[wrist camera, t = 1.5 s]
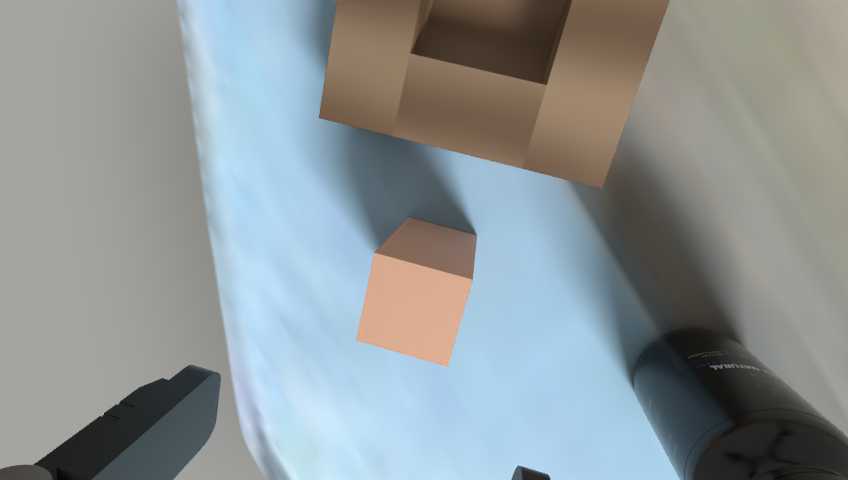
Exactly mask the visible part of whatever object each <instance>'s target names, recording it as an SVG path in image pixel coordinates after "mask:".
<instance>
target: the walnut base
mask: <svg viewBox="0 0 848 480" xmlns="http://www.w3.org/2000/svg"><path fill="white" fill-rule="evenodd" d="M669 1H670V0H337V4H336V11H335V17H334V23H333V30H332V36H331V43H330V49H329V56H328V62H327V69H326V75H325V82H324V88H323V95H322V101H321V108H320V114H319V118H322V119H326V120H330V121H334V122H338V123H342V124H346V125H350V126H354V127H358V128H362V129H366V130H370V131H374V132H378V133H382V134H386V135H390V136H394V137H398V138H402V139H406V140H410V141H414V142H418V143H422V144H426V145H430V146H434V147H438V148H442V149H446V150H450V151H454V152H458V153H462V154H466V155H470V156H474V157H478V158H482V159H486V160H490V161H494V162H498V163H502V164H506V165H510V166H514V167H518V168H522V169H526V170H530V171H534V172H538V173H542V174H546V175H550V176H554V177H558V178H562V179H566V180H570V181H574V182H578V183H582V184H586V185H590V186H594V187H598V188H602V187H603V184H604V182H605V179H606V176H607V173H608V170H609V168H610V165H611V162H612V159H613V157H614V154H615V151H616V148H617V145H618V143H619V140H620V137H621V134H622V131H623V129H624V126H625V123H626V120H627V118H628V115H629V112H630V109H631V106H632V104H633V101H634V98H635V95H636V92H637V90H638V87H639V84H640V81H641V79H642V76H643V73H644V70H645V67H646V65H647V62H648V59H649V56H650V53H651V51H652V48H653V45H654V42H655V40H656V37H657V34H658V31H659V28H660V26H661V23H662V20H663V17H664V14H665V12H666V9H667V6H668V3H669Z"/></svg>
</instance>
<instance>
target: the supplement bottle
mask: <svg viewBox="0 0 848 480" xmlns="http://www.w3.org/2000/svg"><path fill="white" fill-rule="evenodd" d="M633 381H634V390H635V394H636V396H637V399H638V401H639V403H640V405H641V407H642V409H643V411H644V413H645V415H646V417H647V419H648V420H649V422H650V424H651V426H652V428H653V430H654V432H655V434H656V435H657V437H658V439H659V441H660V443H661V445H662V447H663V449H664V450H665V452H666V454H667V456H668V458H669V460H670V462H671V464H672V466H673V467H674V469H675V471H676V473H677V475H678V477H679V479H680V480H848V437H847V436H846V435H845V434H844V433H843V432H841V431H840V430H839V429H838V428H837V427H836V426H835V425H834V424H832V423H831V422H830V421H829V420H828V419H827V418H825V417H824V416H823V415H822V414H821V413H820V412H818V411H817V410H816V409H815V408H814V407H813V406H812V405H810V404H809V403H808V402H807V401H806V400H805V399H803V398H802V397H801V396H800V395H799V394H798V393H796V392H795V391H794V390H793V389H792V388H791V387H790V386H788V385H787V384H786V383H785V382H784V381H783V380H781V379H780V378H779V377H778V376H777V375H776V374H774V373H773V372H772V371H771V370H770V369H769V368H768V367H766V366H765V365H764V364H763V363H762V362H761V361H759V360H758V359H757V358H756V357H755V356H754V355H752V354H751V353H750V352H749V351H748V350H746V349H745V348H744V347H743V346H741V345H740V344H739V343H737V342H736V341H734V340H733V339H731V338H729V337H727V336H725V335H723V334H720V333H717V332H713V331H709V330H701V329H692V330H682V331H678V332H674V333H671V334H668V335H666V336H664V337H662V338H660V339H658V340H657V341H655V342H654V343H653V344H651V345H650V346H649V347H648V348H647V349H646V350H645V351H644V352H643V354H642V355H641V357H640V358H639V360H638V362H637V364H636V367H635V371H634V378H633Z"/></svg>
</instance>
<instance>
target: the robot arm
mask: <svg viewBox="0 0 848 480" xmlns="http://www.w3.org/2000/svg"><path fill="white" fill-rule="evenodd" d="M220 381H221V378H220V374H219V373H217V372H214V371H211V370H207V369H204V368H201V367H198V366H194V365H189V366H187V367H186V368H184V369H183V370H182V371H180V372H179V373H178V374H176V375H175V376H174V377H173V378H171V379H170V380H166V379H163V378H162V379H159V380H157V381H154V382H152V383H149V384H147V385H144V386H142V387H139V388H138V389H137V390H135V391H134V392H132V393H131V394H130V395H128V396H127V397H126V398H124V399H123V400H121V401H120V403H119V404H118V405H115V406H113V407H112V408H111V409H109V410H108V411H106V412H105V413H104V415H103V416H102V417H101V416H100V417H98V418H97V419H96V420H94V421H93V422H91V423H90V424H89V425H87V426H86V427H85V428H84V429H82V430H81V431H79V432H78V433H76V434H75V435H74V436H72V437H71V438H70V439H68V440H67V441H65V442H64V443H63V444H61V445H60V446H59V447H57V448H56V449H54V450H53V451H52V452H50V453H49V454H48V455H46V456H45V457H44V458H42V459H41V460H39V461H38V462H37V463H35V464H34V465H17V466H10V467H6V468H2V469H0V480H173V479H174V478H175V477H176V476H177V475H178V474H179V472H180V471H181V470H182V469H183V468H184V467H185V466H186V465H187V464H188V463H189V461H190V460H191V459H192V458H193V457H194V456H195V455H196V454H197V453H198V451H199V450H200V449H201V448H202V447H203V446H204V445H205V443H206V442H207V440H208V439H209V437H210V435H211V433H212V431H213V429H214V426H215V423H216V417H217V408H218V398H219V390H220ZM512 480H550V477H549V475H548V474H545V473H541V472H538V471H535V470H531V469H528V468H525V467H522V466H517V468H516V469H515V472H514V474H513V477H512Z"/></svg>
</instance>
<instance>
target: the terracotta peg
mask: <svg viewBox="0 0 848 480" xmlns="http://www.w3.org/2000/svg"><path fill="white" fill-rule="evenodd" d="M476 240H477V235H475V234H471V233H467V232H463V231H460V230H456V229H452V228H448V227H445V226H441V225H437V224H433V223H429V222H426V221H422V220H418V219H414V218H411V217H408V218H407V219H406V220H405V221H404V222H403V223H402V224H401V225H400V226H399V227H398V228H397V229H396V230H395V231H394V233H393V234H392V235H391V236H390V237H389V238H388V239H387V240H386V241H385V242H384V243H383V244H382V245H381V246H380V248H379V249H378V250H377V251H376V252H375V253H374V258H373V263H372V267H371V272H370V277H369V282H368V286H367V291H366V296H365V301H364V306H363V310H362V315H361V320H360V325H359V329H358V334H357V339H356V340H357V341H361V342H364V343H368V344H371V345H374V346H378V347H381V348H385V349H388V350H392V351H395V352H398V353H402V354H405V355H409V356H412V357H415V358H419V359H422V360H426V361H429V362H433V363H436V364H439V365H443V366H446V367H448V364H449V360H450V357H451V353H452V350H453V346H454V343H455V339H456V336H457V332H458V329H459V325H460V322H461V318H462V315H463V311H464V308H465V304H466V301H467V298H468V294H469V291H470V287H471V284H472V280H473V271H474V261H475V250H476Z"/></svg>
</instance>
